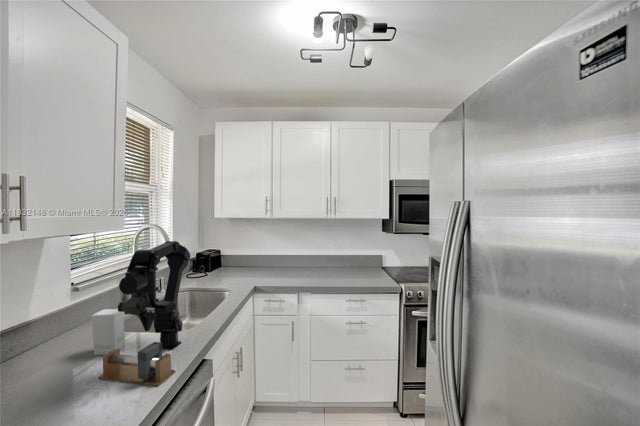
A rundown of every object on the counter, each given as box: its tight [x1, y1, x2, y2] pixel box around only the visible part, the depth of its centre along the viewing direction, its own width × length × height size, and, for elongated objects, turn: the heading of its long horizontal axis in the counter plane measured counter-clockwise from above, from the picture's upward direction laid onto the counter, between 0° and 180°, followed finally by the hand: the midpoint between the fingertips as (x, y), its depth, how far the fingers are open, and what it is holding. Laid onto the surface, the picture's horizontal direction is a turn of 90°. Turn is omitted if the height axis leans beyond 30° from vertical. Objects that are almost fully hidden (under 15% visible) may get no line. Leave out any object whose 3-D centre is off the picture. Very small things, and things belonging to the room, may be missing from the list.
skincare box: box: [91, 308, 126, 356], centre depth 116 cm, size 8×7×16 cm
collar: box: [137, 341, 163, 379], centre depth 98 cm, size 3×7×8 cm, turn 169°
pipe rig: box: [97, 349, 176, 388], centre depth 99 cm, size 22×8×7 cm, turn 79°
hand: (147, 330), depth 105 cm, fingers closed
